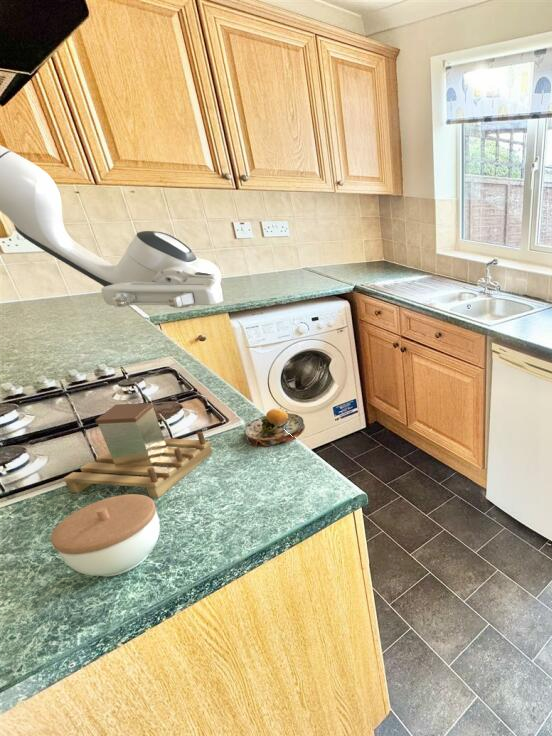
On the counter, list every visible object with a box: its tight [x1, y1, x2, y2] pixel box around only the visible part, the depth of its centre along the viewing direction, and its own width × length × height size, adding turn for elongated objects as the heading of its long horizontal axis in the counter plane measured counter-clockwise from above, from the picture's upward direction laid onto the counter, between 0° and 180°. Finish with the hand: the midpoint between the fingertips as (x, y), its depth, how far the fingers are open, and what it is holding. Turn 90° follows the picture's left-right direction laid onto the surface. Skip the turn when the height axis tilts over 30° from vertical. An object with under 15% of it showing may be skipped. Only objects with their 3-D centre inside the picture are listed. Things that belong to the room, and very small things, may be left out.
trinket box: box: [50, 493, 161, 578], centre depth 59 cm, size 11×11×9 cm
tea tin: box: [95, 402, 167, 468], centre depth 76 cm, size 6×6×10 cm
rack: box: [63, 431, 213, 499], centre depth 78 cm, size 16×14×6 cm
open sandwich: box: [243, 406, 306, 447], centre depth 92 cm, size 12×12×8 cm
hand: (145, 302), depth 83 cm, fingers open, 8 cm apart
